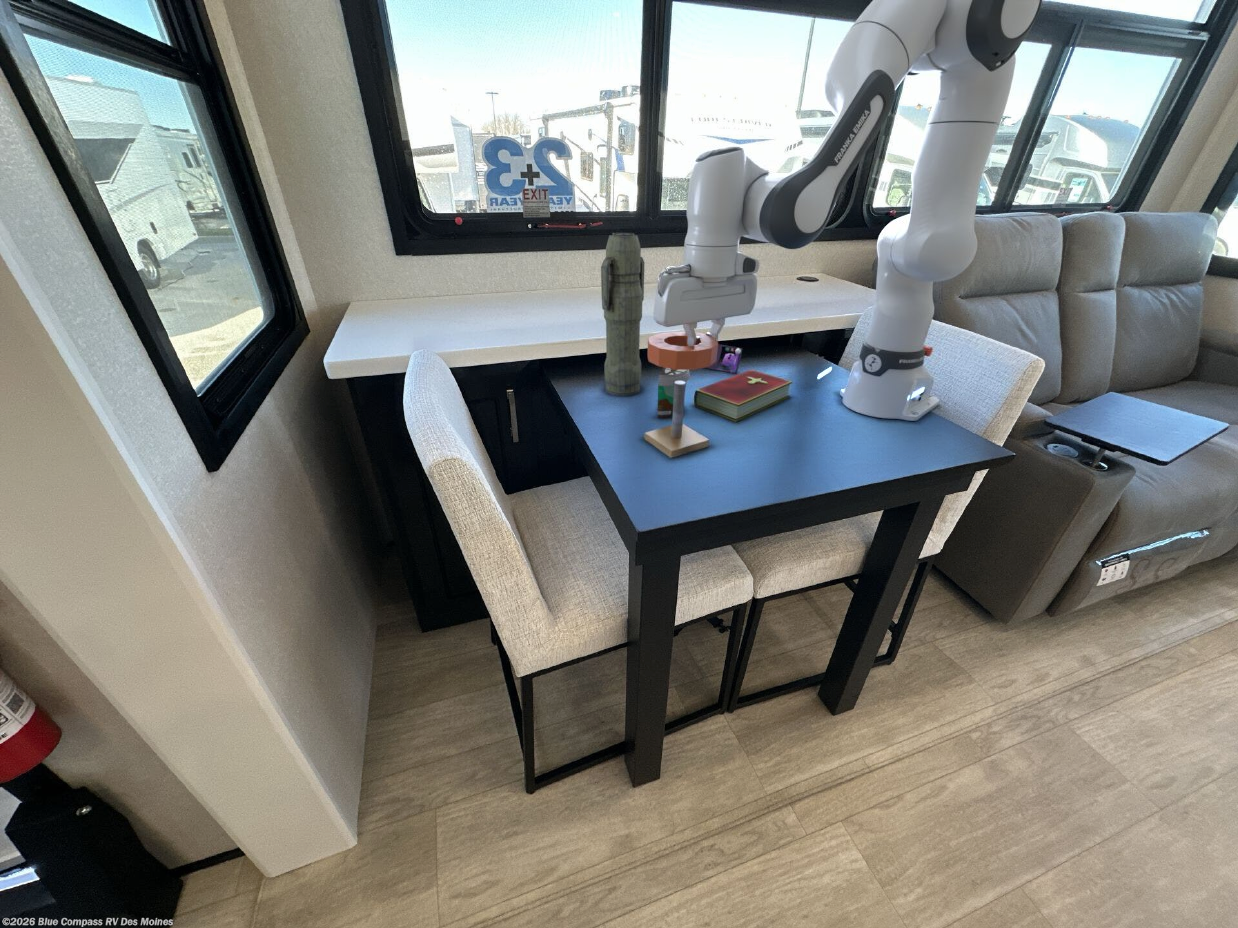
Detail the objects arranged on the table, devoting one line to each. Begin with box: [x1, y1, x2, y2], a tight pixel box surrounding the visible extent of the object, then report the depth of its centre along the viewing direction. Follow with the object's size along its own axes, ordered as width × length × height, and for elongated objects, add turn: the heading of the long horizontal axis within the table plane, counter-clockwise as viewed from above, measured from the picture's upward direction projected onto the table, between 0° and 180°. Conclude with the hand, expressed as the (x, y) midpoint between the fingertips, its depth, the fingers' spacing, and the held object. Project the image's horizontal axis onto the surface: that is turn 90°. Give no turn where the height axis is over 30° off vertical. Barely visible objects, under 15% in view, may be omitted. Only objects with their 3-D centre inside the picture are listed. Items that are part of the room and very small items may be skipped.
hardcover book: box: [693, 369, 793, 423], centre depth 112 cm, size 12×21×4 cm, turn 132°
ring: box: [647, 331, 719, 371], centre depth 86 cm, size 12×12×3 cm
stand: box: [644, 381, 710, 459], centre depth 92 cm, size 9×9×12 cm
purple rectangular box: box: [705, 343, 743, 374], centre depth 133 cm, size 7×5×9 cm
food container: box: [656, 367, 691, 419], centre depth 106 cm, size 12×6×10 cm, turn 168°
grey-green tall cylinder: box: [600, 232, 645, 397], centre depth 111 cm, size 9×12×35 cm
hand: (702, 344), depth 88 cm, fingers closed on ring, 3 cm apart
